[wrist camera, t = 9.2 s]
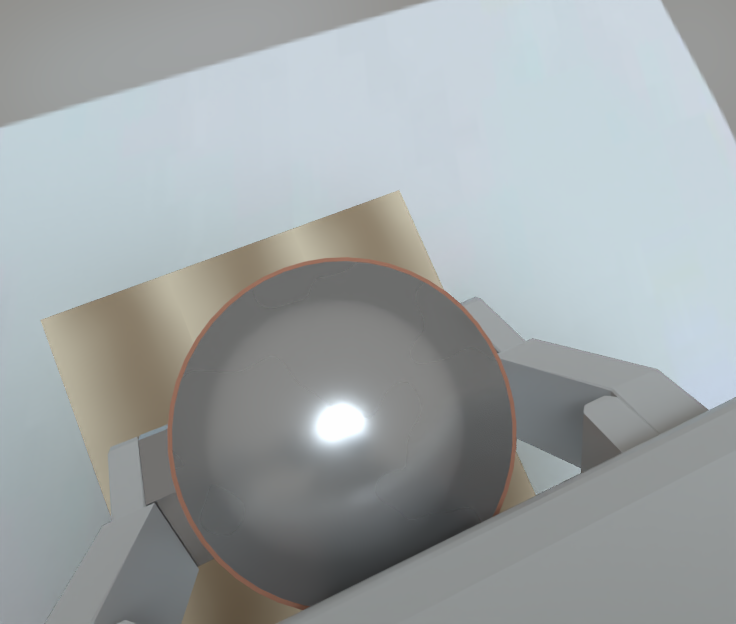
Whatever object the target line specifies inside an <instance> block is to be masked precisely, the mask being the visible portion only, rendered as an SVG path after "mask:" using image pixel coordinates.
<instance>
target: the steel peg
mask: <svg viewBox="0 0 736 624" xmlns="http://www.w3.org/2000/svg"><path fill="white" fill-rule="evenodd" d="M167 431H168V457H169V463H170V469H171V476H172V480H173V483H174V487H175V490H176V493H177V497H178V500H179V502H180V505H181V507H182V509H183V511H184V513H185V516H186V518H187V520H188V522H189V524H190V526H191V527H192V529H193V530H194V532H195V533H196V535H197V537H198V538H199V540H200V541H201V543H202V544H203V546H204V547H205V548H206V549H207V550H208V551H209V553H210V554H211V555H212V556H213V557H214V559H215V560H216V561H217V562H218V563H219V564H220V565H221V566H222V567H224V568H225V569H226V570H227V571H228V572H229V573H230V574H231V575H233V576H234V577H235V578H236V579H237V580H239V581H240V582H242V583H243V584H245V585H246V586H248V587H249V588H251V589H252V590H254V591H255V592H257V593H259V594H261V595H263V596H265V597H268V598H270V599H272V600H274V601H276V602H278V603H281V604H284V605H287V606H291V607H294V608H297V609H300V610H304V609H306V608H308V607H311V606H313V605H315V604H317V603H319V602H321V601H323V600H325V599H327V598H329V597H331V596H333V595H335V594H337V593H339V592H341V591H343V590H345V589H347V588H349V587H351V586H353V585H355V584H357V583H359V582H361V581H363V580H365V579H367V578H369V577H371V576H373V575H376V574H378V573H380V572H382V571H384V570H386V569H388V568H390V567H392V566H394V565H396V564H398V563H400V562H402V561H404V560H406V559H408V558H410V557H412V556H414V555H416V554H418V553H420V552H422V551H424V550H426V549H428V548H430V547H432V546H434V545H436V544H438V543H441V542H443V541H445V540H447V539H449V538H451V537H453V536H455V535H457V534H459V533H461V532H463V531H465V530H467V529H469V528H471V527H473V526H475V525H477V524H479V523H481V522H483V521H485V520H487V519H489V518H491V517H493V516H495V515H497V514H499V512H500V509H501V507H502V504H503V502H504V499H505V497H506V494H507V492H508V488H509V484H510V481H511V477H512V473H513V469H514V461H515V453H516V416H515V408H514V401H513V397H512V392H511V388H510V384H509V380H508V378H507V375H506V372H505V370H504V367H503V365H502V362H501V359H500V358H499V356H498V354H497V352H496V350H495V348H494V346H493V344H492V342H491V341H490V339H489V338H488V336H487V335H486V333H485V332H484V330H483V329H482V328H481V326H480V325H479V323H478V322H477V321H476V320H475V319H474V318H473V316H472V315H471V314H470V313H469V312H468V311H467V310H466V309H465V308H464V306H462V305H461V304H460V303H459V302H458V301H457V300H455V299H454V298H453V297H452V296H451V295H450V294H449V293H447V292H446V291H444V290H443V289H441V288H440V287H438V286H437V285H435V284H434V283H432V282H431V281H429V280H428V279H426V278H424V277H422V276H420V275H418V274H416V273H414V272H412V271H409V270H407V269H404V268H401V267H398V266H395V265H392V264H389V263H385V262H380V261H376V260H371V259H363V258H351V257H339V258H323V259H317V260H311V261H305V262H301V263H298V264H295V265H291V266H288V267H285V268H282V269H280V270H278V271H275V272H273V273H271V274H269V275H266V276H264V277H262V278H261V279H259V280H257V281H256V282H254V283H252V284H251V285H249V286H247V287H246V288H244V289H243V290H242V291H240V292H239V293H238V294H237V295H235V296H234V297H233V298H232V299H230V300H229V301H228V302H227V303H226V304H225V305H224V306H223V307H222V308H221V309H220V310H219V311H218V312H217V313H216V314H215V315H214V316H213V317H212V318H211V319H210V320H209V322H208V323H207V324H206V326H205V327H204V328H203V330H202V331H201V333H200V334H199V335H198V337H197V338H196V340H195V341H194V343H193V345H192V347H191V349H190V350H189V352H188V354H187V356H186V358H185V360H184V362H183V365H182V367H181V370H180V372H179V375H178V377H177V380H176V383H175V387H174V391H173V395H172V399H171V403H170V410H169V419H168V428H167Z"/></svg>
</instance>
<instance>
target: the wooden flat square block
mask: <svg viewBox="0 0 736 624" xmlns="http://www.w3.org/2000/svg"><path fill="white" fill-rule="evenodd" d="M339 257H351V258H363V259H371V260H376V261H380V262H385V263H389V264H392V265H395V266H398V267H401V268H404V269H407V270H409V271H412V272H414V273H416V274H418V275H420V276H422V277H424V278H426V279H428V280H429V281H431V282H432V283H434V284H435V285H437V286H438V287H440V288H441V289H443V287H442V285H441V283H440V280H439V278H438V276H437V274H436V271H435V269H434V267H433V265H432V262H431V260H430V258H429V256H428V253H427V251H426V249H425V247H424V245H423V242H422V240H421V238H420V236H419V233H418V231H417V229H416V227H415V224H414V222H413V220H412V218H411V215H410V213H409V211H408V209H407V207H406V204H405V202H404V200H403V198H402V195H401V193H400V191H399V190H398V191H396V192H393V193H390V194H387V195H385V196H382V197H379V198H376V199H373V200H371V201H368V202H365V203H362V204H360V205H357V206H354V207H351V208H349V209H346V210H343V211H340V212H338V213H335V214H332V215H329V216H327V217H324V218H321V219H318V220H315V221H313V222H310V223H307V224H304V225H302V226H299V227H296V228H293V229H291V230H288V231H285V232H282V233H280V234H277V235H274V236H271V237H269V238H266V239H263V240H260V241H257V242H255V243H252V244H249V245H246V246H244V247H241V248H238V249H235V250H233V251H230V252H227V253H224V254H222V255H219V256H216V257H213V258H211V259H208V260H205V261H202V262H200V263H197V264H194V265H191V266H188V267H186V268H183V269H180V270H177V271H175V272H172V273H169V274H166V275H164V276H161V277H158V278H155V279H153V280H150V281H147V282H144V283H142V284H139V285H136V286H133V287H130V288H128V289H125V290H122V291H119V292H117V293H114V294H111V295H108V296H106V297H103V298H100V299H97V300H95V301H92V302H89V303H86V304H84V305H81V306H78V307H75V308H72V309H70V310H67V311H64V312H61V313H59V314H56V315H53V316H50V317H48V318H45V319H42V320H41V323H42V325H43V328H44V331H45V334H46V337H47V339H48V342H49V345H50V348H51V350H52V353H53V356H54V359H55V362H56V364H57V367H58V370H59V373H60V376H61V378H62V381H63V384H64V387H65V390H66V392H67V395H68V398H69V401H70V404H71V406H72V409H73V412H74V415H75V418H76V420H77V423H78V426H79V429H80V432H81V434H82V437H83V440H84V443H85V446H86V448H87V451H88V454H89V457H90V460H91V462H92V465H93V468H94V471H95V474H96V476H97V479H98V482H99V485H100V488H101V490H102V493H103V496H104V499H105V502H106V504H107V507H108V510H109V513H110V516H111V505H110V487H109V468H108V453H109V450H110V447H112V446H115V445H117V444H120V443H122V442H125V441H127V440H130V439H132V438H135V437H138V436H140V435H141V434H144V433H147V432H149V431H152V430H154V429H157V428H160V427H162V426H165V425H167V424H168V419H169V410H170V403H171V399H172V395H173V391H174V387H175V383H176V380H177V377H178V375H179V372H180V370H181V367H182V365H183V362H184V360H185V358H186V356H187V354H188V352H189V350H190V349H191V347H192V345H193V343H194V341H195V340H196V338H197V337H198V335H199V334H200V333H201V331H202V330H203V328H204V327H205V326H206V324H207V323H208V322H209V320H210V319H211V318H212V317H213V316H214V315H215V314H216V313H217V312H218V311H219V310H220V309H221V308H222V307H223V306H224V305H225V304H226V303H227V302H228V301H229V300H230V299H232V298H233V297H234V296H235V295H237V294H238V293H239V292H240V291H242V290H243V289H244V288H246V287H247V286H249V285H251V284H252V283H254V282H256V281H257V280H259V279H261V278H262V277H264V276H266V275H269V274H271V273H273V272H275V271H278V270H280V269H282V268H285V267H288V266H291V265H295V264H298V263H301V262H305V261H311V260H317V259H323V258H339ZM443 290H444V289H443ZM534 496H536V495H535V493H534V490H533V488H532V486H531V484H530V481H529V479H528V477H527V475H526V472H525V470H524V468H523V466H522V463H521V461H520V459H519V457H518V455H517V452H516V453H515V461H514V469H513V473H512V477H511V481H510V484H509V488H508V492H507V494H506V497H505V499H504V502H503V504H502V507H501V509H500V512H499V513H501V512H503V511H505V510H507V509H509V508H512V507H514V506H516V505H518V504H520V503H522V502H524V501H526V500H528V499H530V498H532V497H534ZM198 569H199V571H198V574H197V577H196V580H195V583H194V586H193V589H192V592H191V595H190V598H189V602H188V605H187V608H186V611H185V614H184V617H183V620H182V623H181V624H276V623H278V622H280V621H282V620H284V619H286V618H288V617H290V616H292V615H294V614H296V613H298V612H300V611H302V610H300V609H297V608H294V607H291V606H287V605H284V604H281V603H278V602H276V601H274V600H272V599H270V598H268V597H265V596H263V595H261V594H259V593H257V592H255V591H254V590H252V589H251V588H249V587H248V586H246V585H245V584H243V583H242V582H240V581H239V580H237V579H236V578H235V577H234V576H233V575H231V574H230V573H229V572H228V571H227V570H226V569H225V568H224V567H222V566H221V565H220V564H219V563H218V562H217V561H216V560H215V559H213V560H211V561H209V562H207V563H204V564H202V565H200V566H198Z"/></svg>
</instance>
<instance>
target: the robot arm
mask: <svg viewBox="0 0 736 624" xmlns="http://www.w3.org/2000/svg"><path fill="white" fill-rule="evenodd" d="M460 304H461V305H462V306H464V308H465V309H466V310H467V311H468V312H469V313H470V314H471V315H472V316H473V318H474V319H475V320H476V321H477V322H478V323H479V325H480V326H481V328H482V329H483V330H484V332H485V333H486V335H487V336H488V338H489V339H490V341H491V342H492V344H493V346H494V348H495V350H496V352H497V354H498V356H499V358H500V359H501V362H502V365H503V367H504V370H505V372H506V375H507V378H508V380H509V384H510V388H511V392H512V397H513V401H514V408H515V416H516V438H517V439H519V440H522V441H524V442H526V443H528V444H530V445H532V446H535V447H537V448H539V449H541V450H543V451H545V452H547V453H550V454H552V455H554V456H556V457H558V458H560V459H562V460H565V461H567V462H569V463H571V464H573V465H575V466H577V467H580V468H581V473H580V474H578V475H576V476H574V477H572V478H570V479H568V480H566V481H564V482H562V483H560V484H558V485H556V486H554V487H552V488H550V489H548V490H546V491H544V492H542V493H540V494H538V495H536V496H534V497H532V498H530V499H528V500H526V501H524V502H522V503H520V504H518V505H516V506H514V507H512V508H509V509H507V510H505V511H503V512H501V513H499V514H497V515H495V516H493V517H491V518H489V519H487V520H485V521H483V522H481V523H479V524H477V525H475V526H473V527H471V528H469V529H467V530H465V531H463V532H461V533H459V534H457V535H455V536H453V537H451V538H449V539H447V540H445V541H443V542H441V543H438V544H436V545H434V546H432V547H430V548H428V549H426V550H424V551H422V552H420V553H418V554H416V555H414V556H412V557H410V558H408V559H406V560H404V561H402V562H400V563H398V564H396V565H394V566H392V567H390V568H388V569H386V570H384V571H382V572H380V573H378V574H376V575H373V576H371V577H369V578H367V579H365V580H363V581H361V582H359V583H357V584H355V585H353V586H351V587H349V588H347V589H345V590H343V591H341V592H339V593H337V594H335V595H333V596H331V597H329V598H327V599H325V600H323V601H321V602H319V603H317V604H315V605H313V606H311V607H308V608H306V609H304V610H302V611H300V612H298V613H296V614H294V615H292V616H290V617H288V618H286V619H284V620H282V621H280V622H278V623H276V624H736V397H735V398H733V399H731V400H729V401H727V402H725V403H723V404H721V405H719V406H717V407H715V408H712V409H710V410H708V409H707V408H706V407H704V406H703V405H702V404H701V403H699V402H698V401H697V400H696V399H694V398H693V397H692V396H691V395H689V394H688V393H687V392H686V391H684V390H683V389H682V388H681V387H679V386H678V385H677V384H676V383H674V382H673V381H672V380H671V379H669V378H668V377H667V376H665V375H664V374H663V373H662V372H660V371H659V370H658V369H654V368H650V367H646V366H642V365H638V364H634V363H630V362H626V361H622V360H618V359H614V358H610V357H606V356H602V355H598V354H594V353H590V352H586V351H582V350H577V349H573V348H569V347H565V346H561V345H557V344H553V343H549V342H545V341H541V340H537V339H533V338H532V339H530V340H528V341H525V340H524V339H523V338H522V337H521V336H520V335H519V334H518V333H517V332H516V331H514V330H513V329H512V328H511V327H510V326H509V325H508V324H507V323H506V322H505V321H504V320H503V319H502V318H501V317H500V316H499V315H498V314H497V313H496V312H494V311H493V310H492V309H491V308H490V307H489V306H488V305H487V304H486V303H485V302H484V301H483V300H482V299H481V298H478V297H474V298H472V299H469V300H467V301H465V302H462V303H460ZM167 428H168V424H167V425H165V426H162V427H160V428H157V429H154V430H152V431H149V432H147V433H144V434H141V435H140V436H138V437H135V438H132V439H130V440H127V441H125V442H122V443H120V444H117V445H115V446H112V447H110V450H109V453H108V468H109V487H110V505H111V522H109V523H107V524H105V525H103V526H102V527H101V529H100V531H99V532H98V534H97V536H96V538H95V539H94V541H93V543H92V544H91V546H90V548H89V549H88V551H87V553H86V554H85V556H84V558H83V560H82V561H81V563H80V565H79V566H78V568H77V570H76V571H75V573H74V575H73V576H72V578H71V580H70V581H69V583H68V585H67V587H66V588H65V590H64V592H63V593H62V595H61V597H60V598H59V600H58V602H57V603H56V605H55V607H54V609H53V610H52V612H51V614H50V615H49V617H48V619H47V620H46V622H45V624H181V623H182V620H183V617H184V614H185V611H186V608H187V605H188V602H189V598H190V595H191V592H192V589H193V586H194V583H195V580H196V577H197V574H198V571H199V569H198V566H200V565H202V564H204V563H207V562H209V561H211V560H213V559H214V557H213V556H212V555H211V554H210V553H209V551H208V550H207V549H206V548H205V547H204V546H203V544H202V543H201V541H200V540H199V538H198V537H197V535H196V533H195V532H194V530H193V529H192V527H191V526H190V524H189V522H188V520H187V518H186V516H185V513H184V511H183V509H182V507H181V505H180V502H179V500H178V497H177V493H176V490H175V487H174V483H173V480H172V476H171V469H170V463H169V457H168V431H167Z"/></svg>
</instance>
